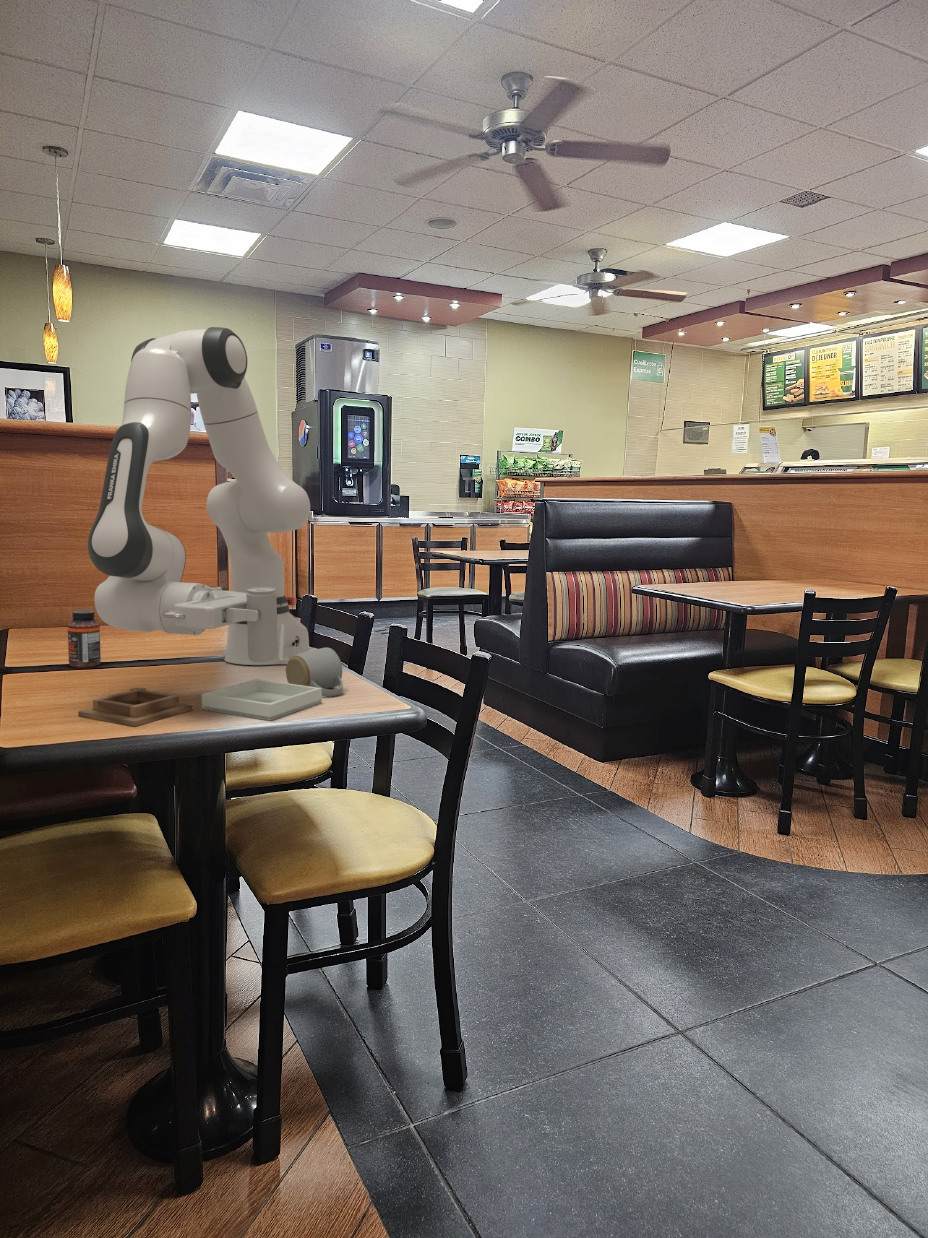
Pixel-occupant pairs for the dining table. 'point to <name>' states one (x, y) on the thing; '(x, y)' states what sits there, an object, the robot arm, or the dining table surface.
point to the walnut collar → (135, 707)
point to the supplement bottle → (84, 640)
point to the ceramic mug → (316, 670)
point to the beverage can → (262, 624)
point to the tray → (262, 699)
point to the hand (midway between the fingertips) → (266, 613)
